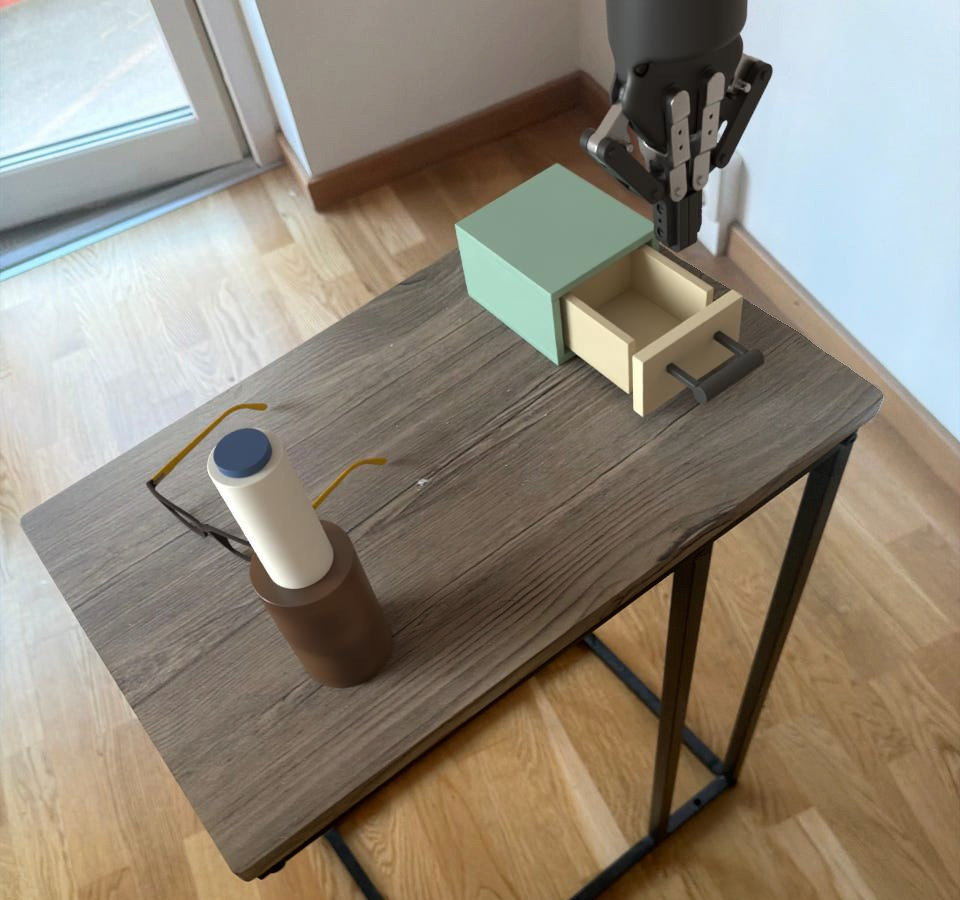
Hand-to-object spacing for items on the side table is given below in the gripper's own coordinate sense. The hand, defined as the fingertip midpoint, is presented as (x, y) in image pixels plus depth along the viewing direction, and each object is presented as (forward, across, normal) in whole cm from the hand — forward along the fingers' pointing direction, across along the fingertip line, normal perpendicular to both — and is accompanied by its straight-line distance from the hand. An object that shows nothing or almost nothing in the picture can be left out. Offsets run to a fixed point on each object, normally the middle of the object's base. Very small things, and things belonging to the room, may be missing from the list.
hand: (678, 243), depth 62 cm
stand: (+18, -32, -1) cm, 36 cm away
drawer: (+15, +3, +7) cm, 17 cm away
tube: (+7, -32, -2) cm, 33 cm away
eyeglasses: (+16, -30, +17) cm, 38 cm away
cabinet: (+15, +2, +20) cm, 25 cm away
